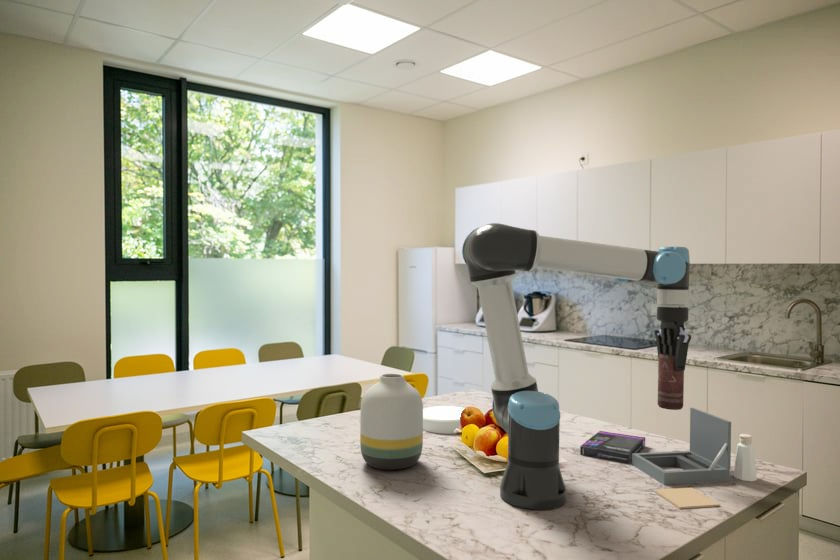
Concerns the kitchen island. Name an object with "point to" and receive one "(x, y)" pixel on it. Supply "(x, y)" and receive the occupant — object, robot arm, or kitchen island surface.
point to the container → (441, 419)
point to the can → (669, 384)
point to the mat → (686, 498)
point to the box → (612, 446)
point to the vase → (391, 424)
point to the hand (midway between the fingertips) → (670, 396)
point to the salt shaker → (745, 460)
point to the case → (693, 454)
